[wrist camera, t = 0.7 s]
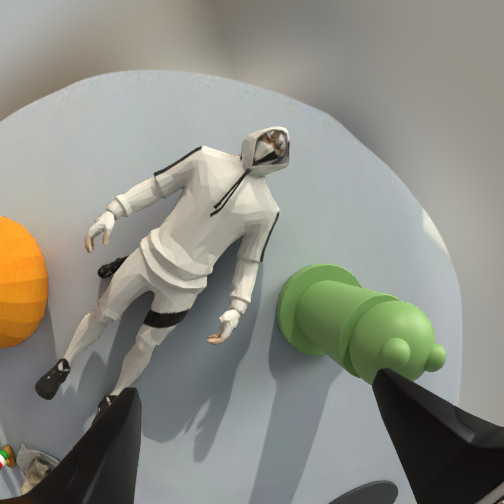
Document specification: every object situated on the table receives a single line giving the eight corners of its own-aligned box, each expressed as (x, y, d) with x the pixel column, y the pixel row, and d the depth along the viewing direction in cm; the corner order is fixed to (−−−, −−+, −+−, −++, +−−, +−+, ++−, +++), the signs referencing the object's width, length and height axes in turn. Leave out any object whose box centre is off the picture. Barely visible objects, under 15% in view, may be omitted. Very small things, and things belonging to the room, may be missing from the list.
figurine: (7, 370, 16) (228, 60, 18) (35, 343, 22) (218, 93, 24) (133, 457, 19) (362, 180, 21) (140, 417, 25) (325, 186, 27)
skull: (16, 462, 21) (1, 487, 15) (25, 428, 21) (4, 457, 15) (76, 502, 23) (66, 529, 17) (97, 476, 23) (85, 511, 17)
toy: (345, 357, 27) (441, 425, 12) (265, 343, 26) (327, 434, 11) (368, 275, 27) (487, 293, 13) (290, 253, 26) (385, 257, 11)
